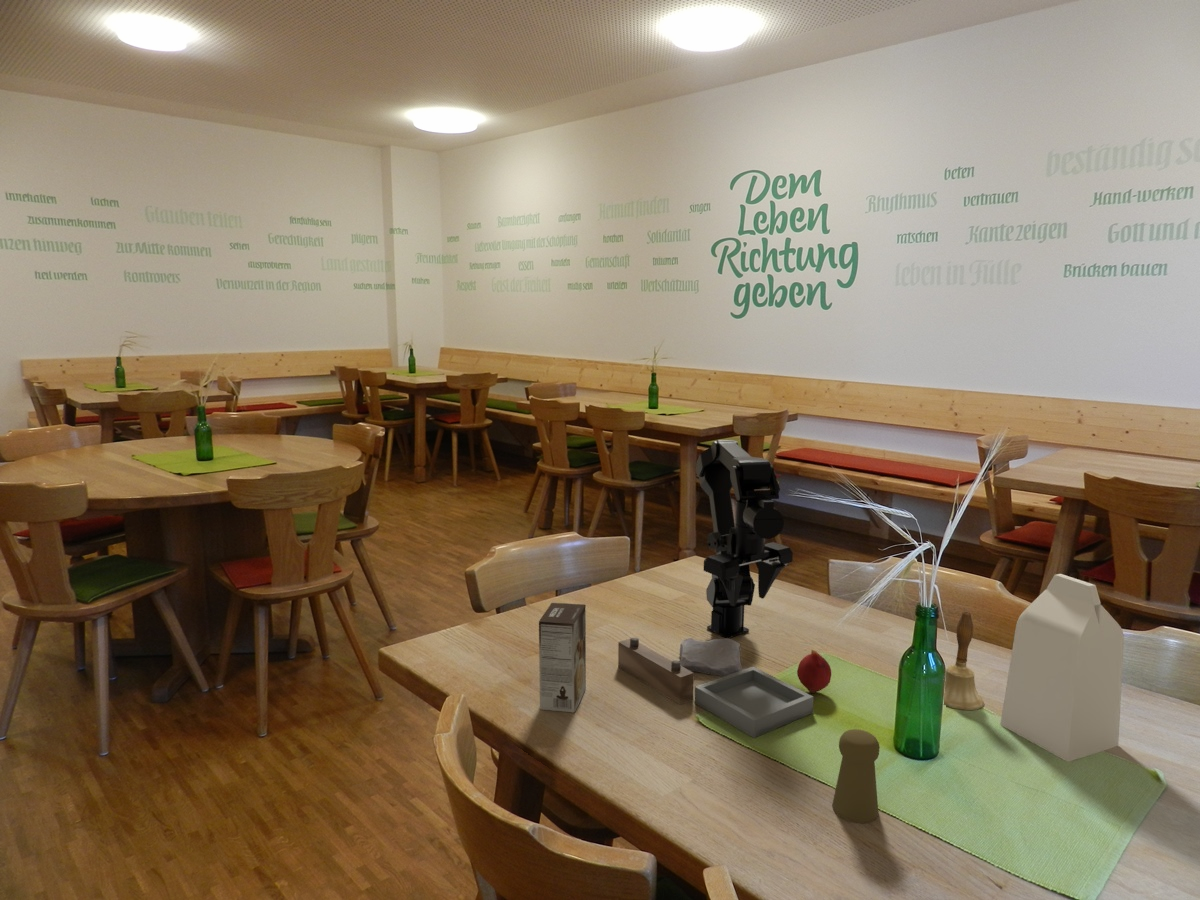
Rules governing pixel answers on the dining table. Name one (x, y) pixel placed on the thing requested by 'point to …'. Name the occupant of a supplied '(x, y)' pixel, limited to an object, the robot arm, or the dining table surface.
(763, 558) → the robot arm
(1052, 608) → the milk
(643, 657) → the bar
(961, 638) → the hand bell
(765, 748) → the dining table surface
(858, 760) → the brown peg figure
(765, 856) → the dining table surface
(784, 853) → the dining table surface
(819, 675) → the onion
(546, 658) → the coffee box
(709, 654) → the stone block
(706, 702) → the tray
